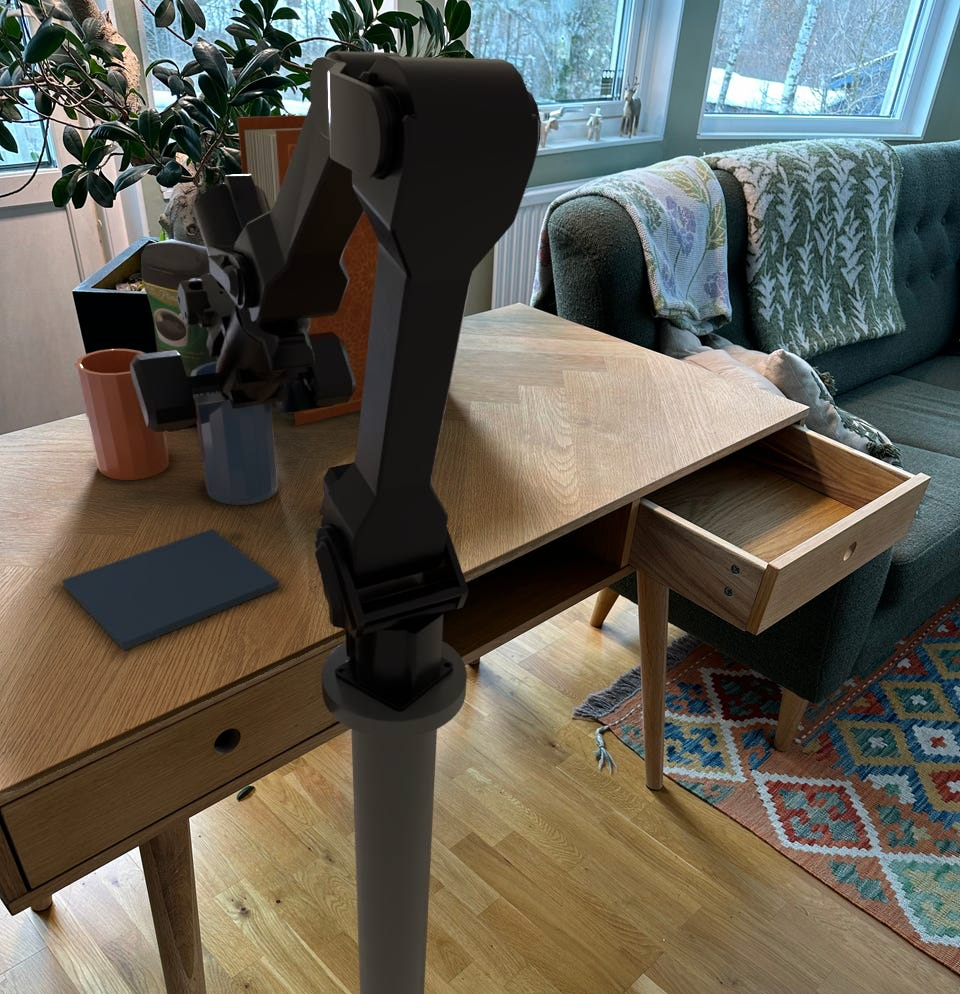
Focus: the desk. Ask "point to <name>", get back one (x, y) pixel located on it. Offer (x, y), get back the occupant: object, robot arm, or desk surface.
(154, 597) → the blue mat
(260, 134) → the book
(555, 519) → the desk surface
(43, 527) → the desk surface
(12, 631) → the desk surface
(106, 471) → the terracotta cup
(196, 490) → the desk surface
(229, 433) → the blue cup
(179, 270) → the coffee jar
